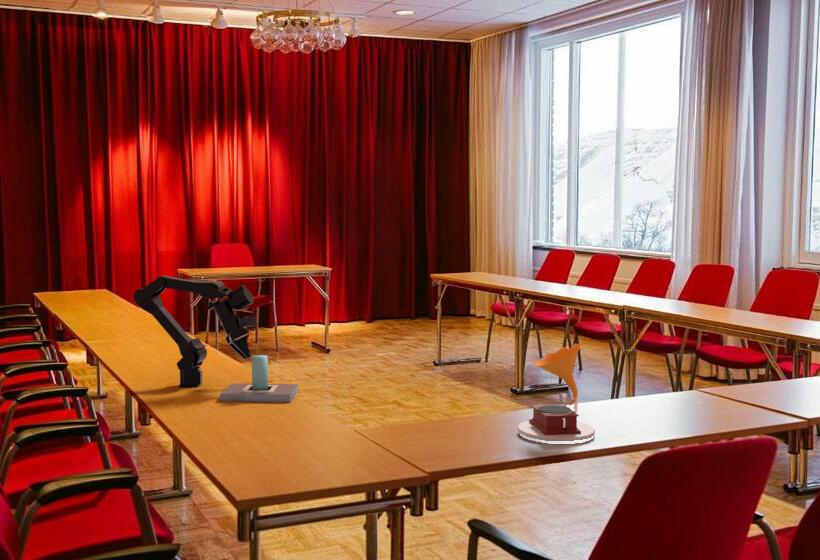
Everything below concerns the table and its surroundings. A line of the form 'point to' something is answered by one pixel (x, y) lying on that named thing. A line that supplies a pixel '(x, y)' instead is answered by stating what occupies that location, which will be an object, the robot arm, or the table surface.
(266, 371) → the teal peg
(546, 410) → the gramophone
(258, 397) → the flange plate
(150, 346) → the table surface
